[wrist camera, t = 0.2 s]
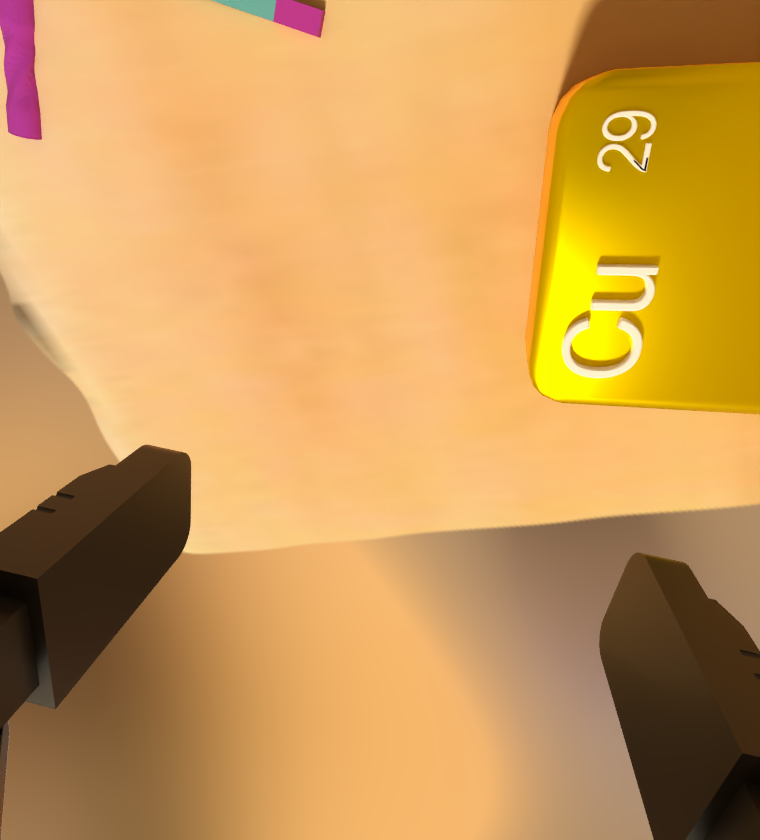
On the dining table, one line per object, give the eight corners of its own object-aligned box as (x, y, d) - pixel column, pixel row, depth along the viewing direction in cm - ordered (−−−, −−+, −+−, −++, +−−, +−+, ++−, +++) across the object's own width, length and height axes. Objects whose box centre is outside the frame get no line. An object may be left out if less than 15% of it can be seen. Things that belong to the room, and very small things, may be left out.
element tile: (797, 383, 29) (845, 426, 25) (521, 369, 32) (524, 407, 28) (929, 58, 22) (1027, 46, 18) (553, 76, 25) (564, 70, 21)
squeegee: (-205, 59, 29) (-273, -196, 24) (-173, 62, 31) (-230, -178, 26) (282, 227, 29) (321, 9, 24) (291, 221, 31) (330, 15, 26)
